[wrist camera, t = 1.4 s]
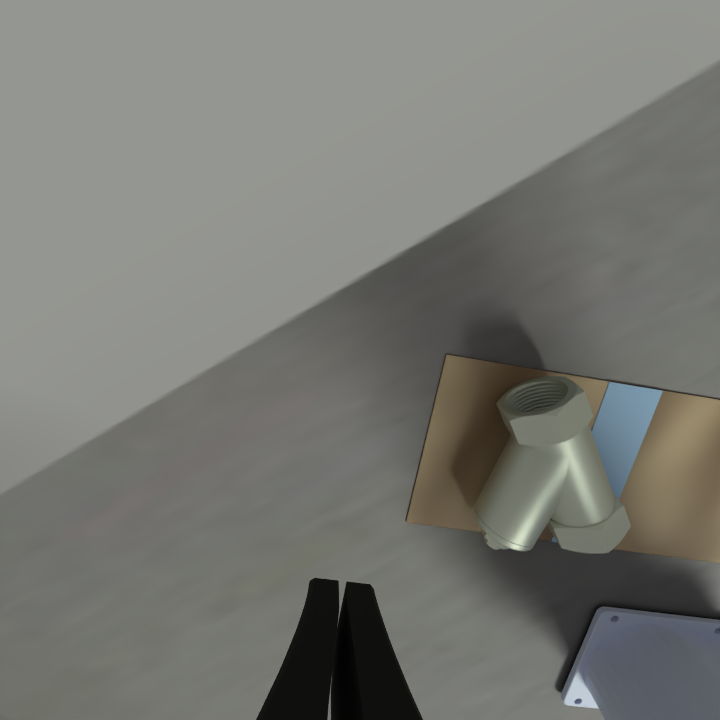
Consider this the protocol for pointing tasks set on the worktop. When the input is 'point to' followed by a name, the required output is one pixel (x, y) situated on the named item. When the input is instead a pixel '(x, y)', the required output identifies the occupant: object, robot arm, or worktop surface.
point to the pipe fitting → (549, 474)
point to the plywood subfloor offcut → (615, 446)
